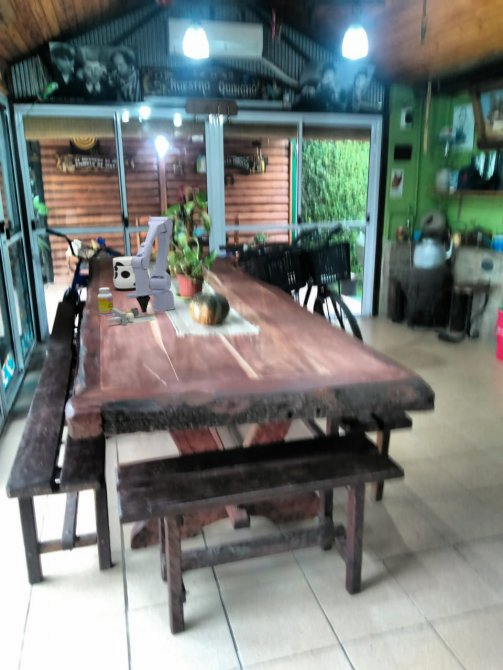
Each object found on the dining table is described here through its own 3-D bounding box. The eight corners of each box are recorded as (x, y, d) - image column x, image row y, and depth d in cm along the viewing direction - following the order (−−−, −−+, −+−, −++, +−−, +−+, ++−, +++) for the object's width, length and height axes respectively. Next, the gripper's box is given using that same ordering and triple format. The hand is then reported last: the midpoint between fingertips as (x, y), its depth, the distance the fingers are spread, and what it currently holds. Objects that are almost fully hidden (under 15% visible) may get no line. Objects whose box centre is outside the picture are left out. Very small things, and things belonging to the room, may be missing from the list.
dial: (130, 319, 234) (129, 308, 232) (132, 320, 232) (131, 309, 230) (125, 320, 232) (124, 309, 231) (127, 321, 231) (126, 310, 229)
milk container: (150, 287, 309) (147, 256, 304) (129, 292, 295) (126, 260, 290) (129, 284, 318) (126, 255, 313) (107, 290, 304) (104, 259, 299)
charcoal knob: (136, 314, 239) (135, 307, 238) (138, 316, 236) (138, 308, 235) (112, 318, 234) (111, 310, 233) (115, 320, 231) (114, 312, 230)
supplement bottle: (110, 317, 241) (107, 289, 238) (97, 316, 243) (93, 289, 239) (116, 313, 247) (113, 287, 244) (103, 313, 249) (100, 286, 245)
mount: (144, 315, 243) (143, 303, 241) (156, 321, 232) (155, 308, 231) (113, 320, 235) (111, 308, 234) (123, 326, 224) (122, 314, 223)
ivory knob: (131, 319, 231) (130, 311, 230) (134, 321, 228) (133, 313, 227) (107, 323, 225) (106, 315, 224) (109, 325, 222) (108, 317, 221)
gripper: (129, 286, 229) (132, 316, 232) (160, 282, 236) (162, 311, 240) (123, 283, 234) (126, 313, 238) (154, 280, 242) (156, 308, 246)
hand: (144, 312), depth 239 cm, fingers closed
